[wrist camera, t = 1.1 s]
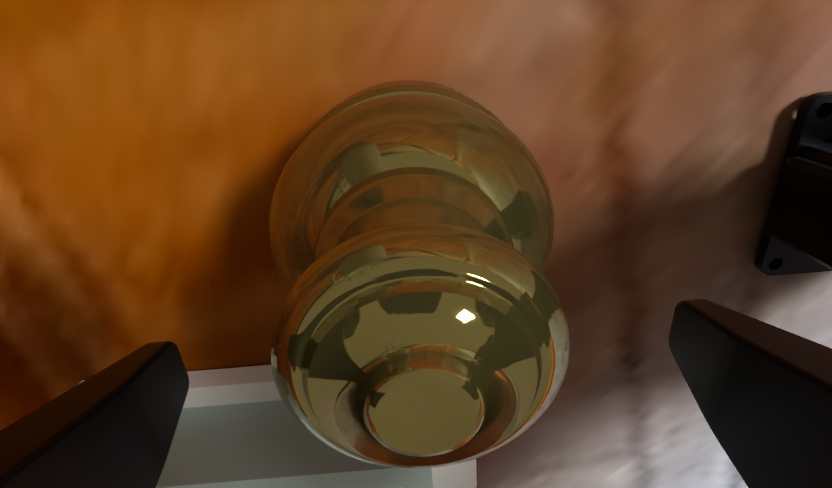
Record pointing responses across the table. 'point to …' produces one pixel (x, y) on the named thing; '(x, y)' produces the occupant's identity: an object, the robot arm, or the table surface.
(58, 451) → the robot arm
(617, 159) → the table surface
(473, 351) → the gold rounded piece
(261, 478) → the grey green tray
